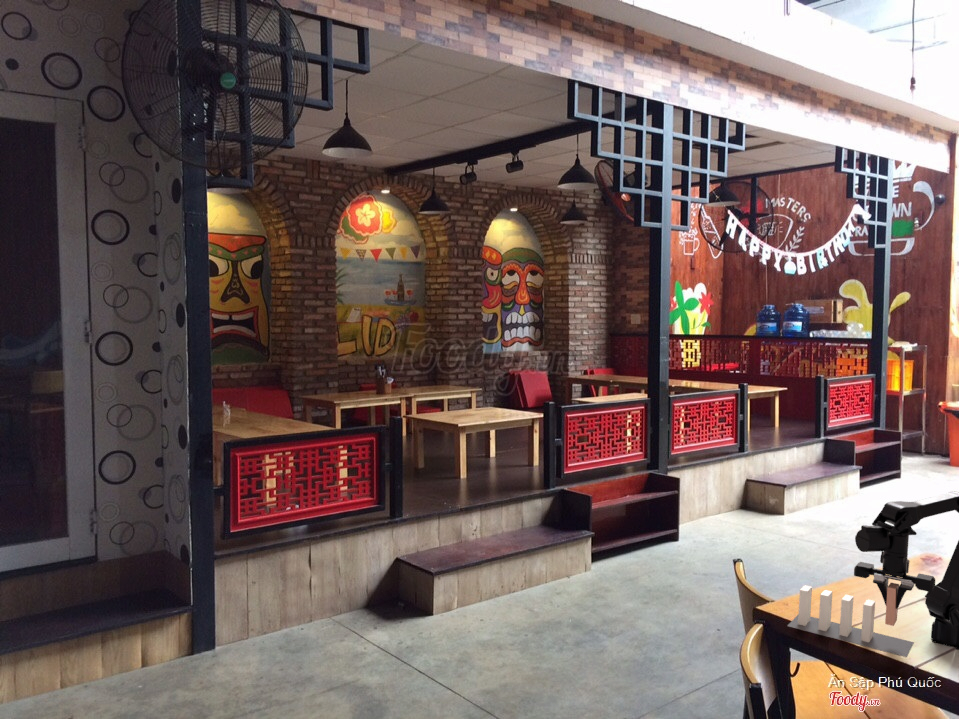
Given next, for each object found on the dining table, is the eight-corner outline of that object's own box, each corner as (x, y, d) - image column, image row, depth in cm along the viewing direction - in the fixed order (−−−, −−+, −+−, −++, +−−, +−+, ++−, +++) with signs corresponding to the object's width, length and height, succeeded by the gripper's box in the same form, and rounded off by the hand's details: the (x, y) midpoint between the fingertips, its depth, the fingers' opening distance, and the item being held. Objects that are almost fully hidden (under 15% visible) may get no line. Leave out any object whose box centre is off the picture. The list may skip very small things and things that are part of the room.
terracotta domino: (896, 620, 211) (899, 584, 210) (893, 625, 207) (895, 589, 206) (888, 618, 212) (890, 582, 212) (885, 623, 208) (887, 587, 208)
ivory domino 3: (851, 631, 218) (853, 596, 217) (847, 636, 214) (849, 601, 213) (843, 629, 219) (845, 594, 219) (839, 634, 215) (841, 599, 215)
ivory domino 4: (872, 636, 215) (875, 601, 214) (869, 642, 211) (871, 606, 210) (865, 634, 216) (867, 599, 215) (861, 640, 212) (863, 604, 211)
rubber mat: (913, 643, 212) (914, 642, 212) (906, 658, 202) (906, 657, 202) (798, 614, 230) (799, 613, 230) (787, 627, 220) (787, 626, 220)
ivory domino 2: (830, 625, 221) (832, 591, 221) (825, 631, 217) (828, 596, 217) (822, 623, 223) (824, 589, 222) (818, 629, 219) (820, 594, 218)
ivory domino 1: (810, 620, 225) (812, 586, 224) (805, 626, 221) (807, 591, 220) (802, 618, 226) (804, 585, 225) (797, 624, 222) (799, 589, 221)
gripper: (939, 550, 209) (936, 607, 210) (863, 537, 220) (860, 591, 221) (934, 560, 200) (930, 620, 201) (855, 546, 212) (851, 602, 213)
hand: (892, 607), depth 209 cm, fingers closed on terracotta domino, 2 cm apart
